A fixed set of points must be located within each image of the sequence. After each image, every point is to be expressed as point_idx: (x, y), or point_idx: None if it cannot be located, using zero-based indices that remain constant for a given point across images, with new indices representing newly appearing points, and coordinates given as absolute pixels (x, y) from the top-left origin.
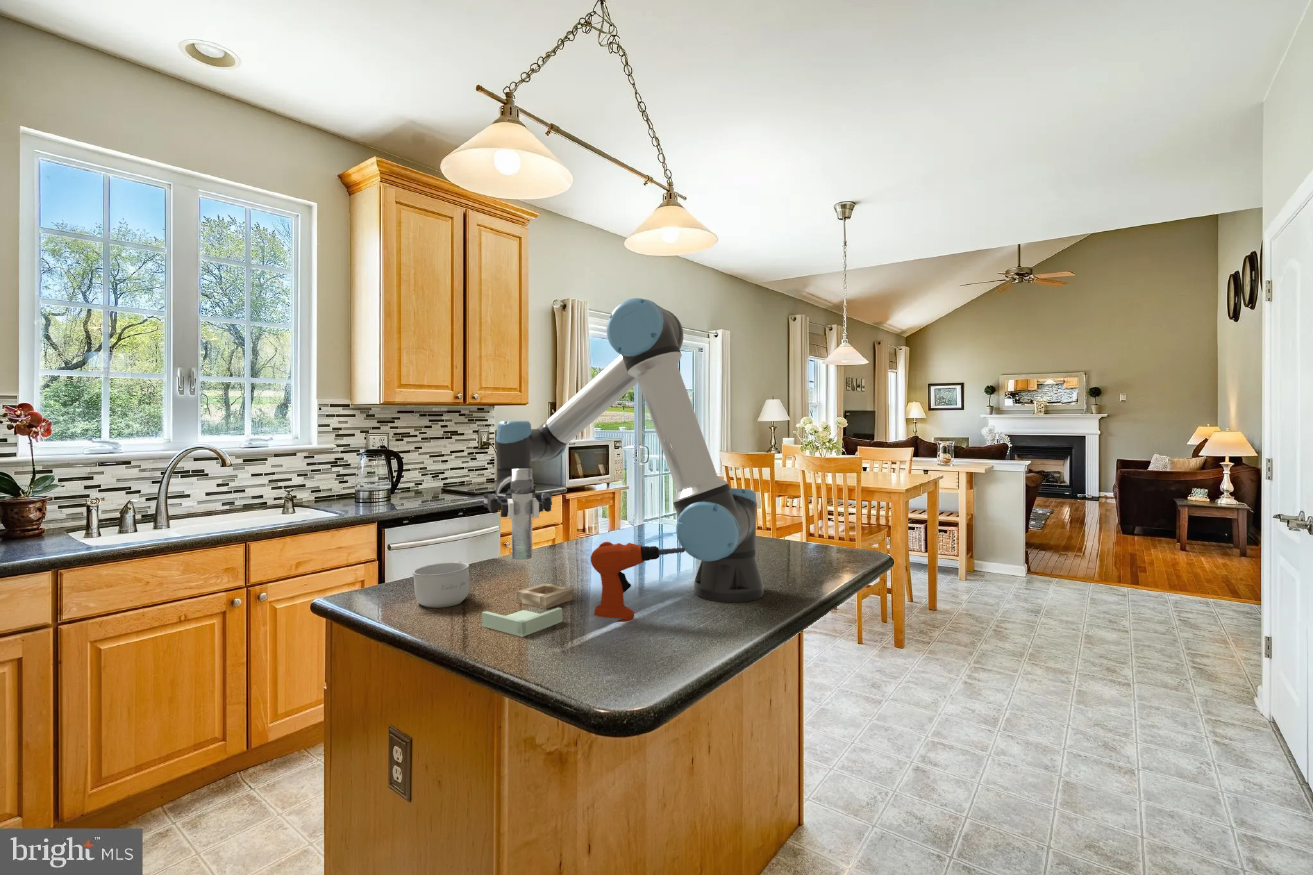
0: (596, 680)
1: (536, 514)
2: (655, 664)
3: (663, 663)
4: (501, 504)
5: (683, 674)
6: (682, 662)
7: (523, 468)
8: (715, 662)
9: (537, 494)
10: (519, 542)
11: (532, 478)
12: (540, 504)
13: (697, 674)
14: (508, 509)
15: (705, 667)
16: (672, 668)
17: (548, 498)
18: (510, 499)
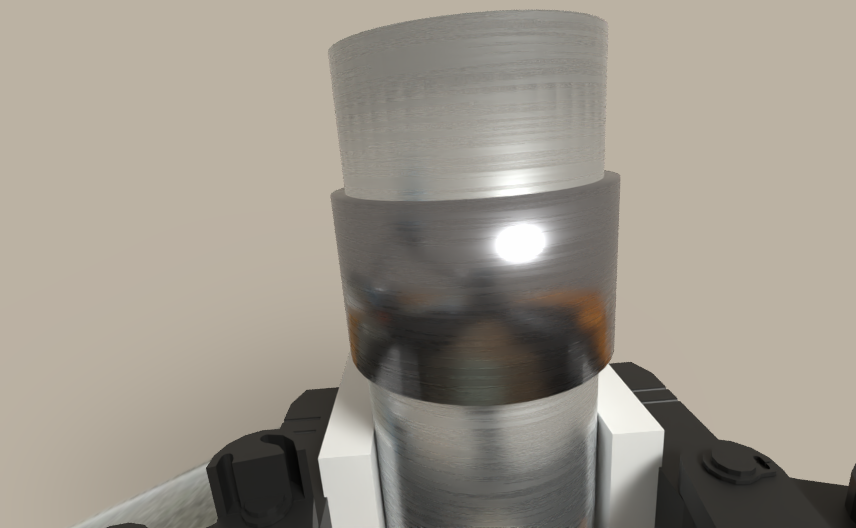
0: None
1: None
2: (213, 522)
3: (196, 524)
4: (650, 372)
5: (202, 481)
6: (161, 523)
7: (445, 27)
8: (108, 515)
9: (272, 452)
10: None
11: (332, 197)
12: (325, 393)
13: (182, 478)
14: None
15: (145, 499)
16: (199, 503)
17: (123, 526)
18: (603, 393)
